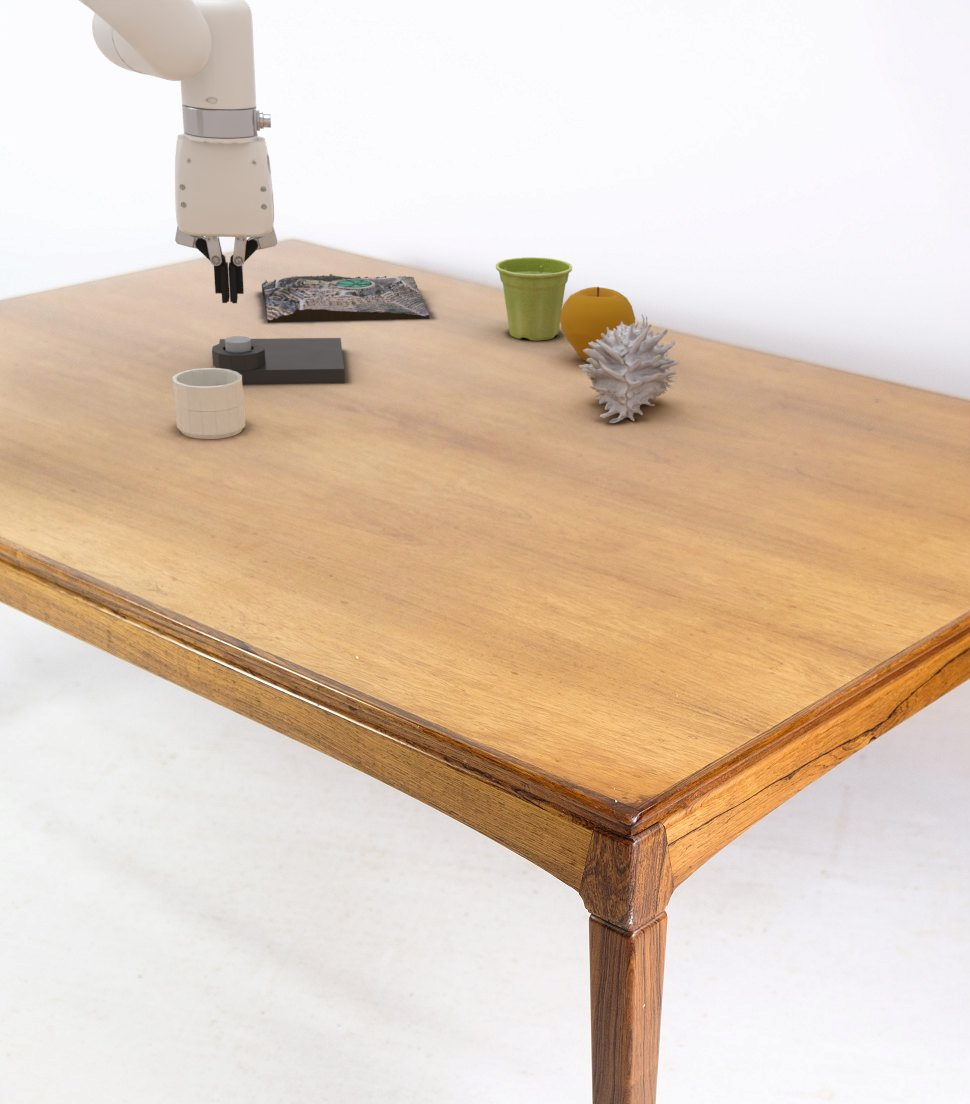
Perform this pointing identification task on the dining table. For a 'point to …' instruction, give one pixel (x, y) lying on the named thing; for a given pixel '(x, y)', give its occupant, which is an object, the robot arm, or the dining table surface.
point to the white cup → (209, 403)
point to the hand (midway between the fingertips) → (230, 299)
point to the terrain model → (342, 299)
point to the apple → (593, 316)
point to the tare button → (238, 344)
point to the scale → (285, 361)
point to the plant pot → (534, 295)
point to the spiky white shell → (629, 369)
